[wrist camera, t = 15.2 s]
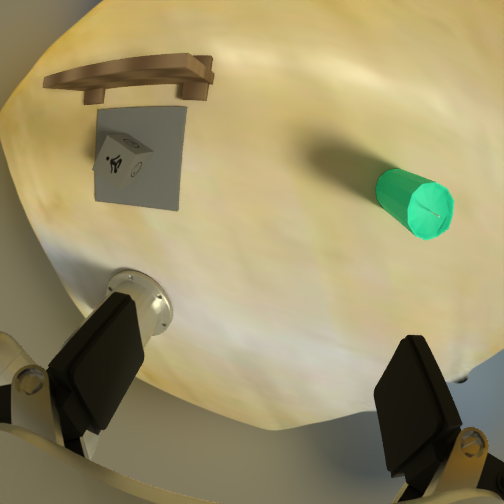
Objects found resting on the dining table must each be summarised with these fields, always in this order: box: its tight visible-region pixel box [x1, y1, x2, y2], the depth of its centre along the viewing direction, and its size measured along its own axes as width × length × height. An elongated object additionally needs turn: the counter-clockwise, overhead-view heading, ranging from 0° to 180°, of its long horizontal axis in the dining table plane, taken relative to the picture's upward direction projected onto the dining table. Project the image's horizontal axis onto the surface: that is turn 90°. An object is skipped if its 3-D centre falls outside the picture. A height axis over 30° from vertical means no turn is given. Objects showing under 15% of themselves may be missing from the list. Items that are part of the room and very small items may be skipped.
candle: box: [375, 169, 454, 241], centre depth 27 cm, size 6×6×12 cm
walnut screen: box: [43, 53, 214, 105], centre depth 26 cm, size 20×6×10 cm, turn 83°
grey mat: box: [95, 107, 187, 211], centre depth 35 cm, size 14×14×1 cm
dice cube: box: [92, 134, 154, 189], centre depth 32 cm, size 5×5×5 cm
